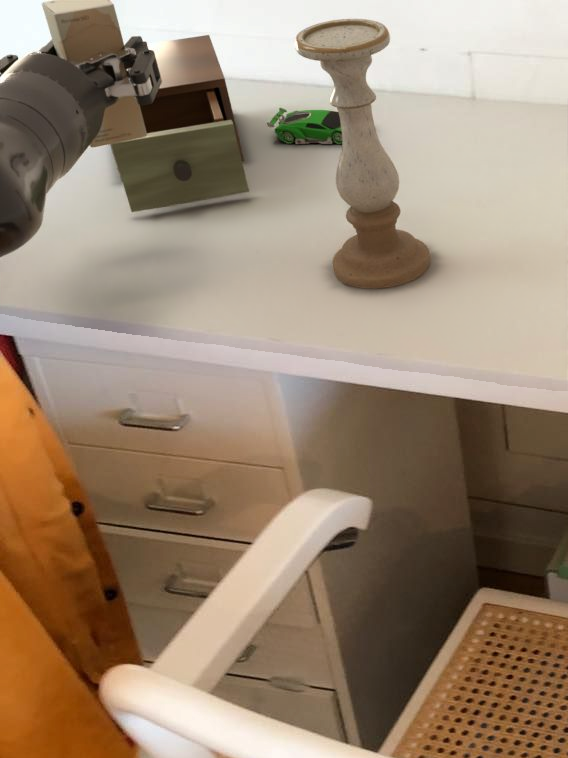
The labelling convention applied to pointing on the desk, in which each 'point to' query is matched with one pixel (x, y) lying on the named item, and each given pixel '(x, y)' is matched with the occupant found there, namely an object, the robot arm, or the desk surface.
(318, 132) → the toy car
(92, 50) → the box
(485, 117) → the desk surface
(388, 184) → the candle holder
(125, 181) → the drawer
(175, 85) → the cabinet
